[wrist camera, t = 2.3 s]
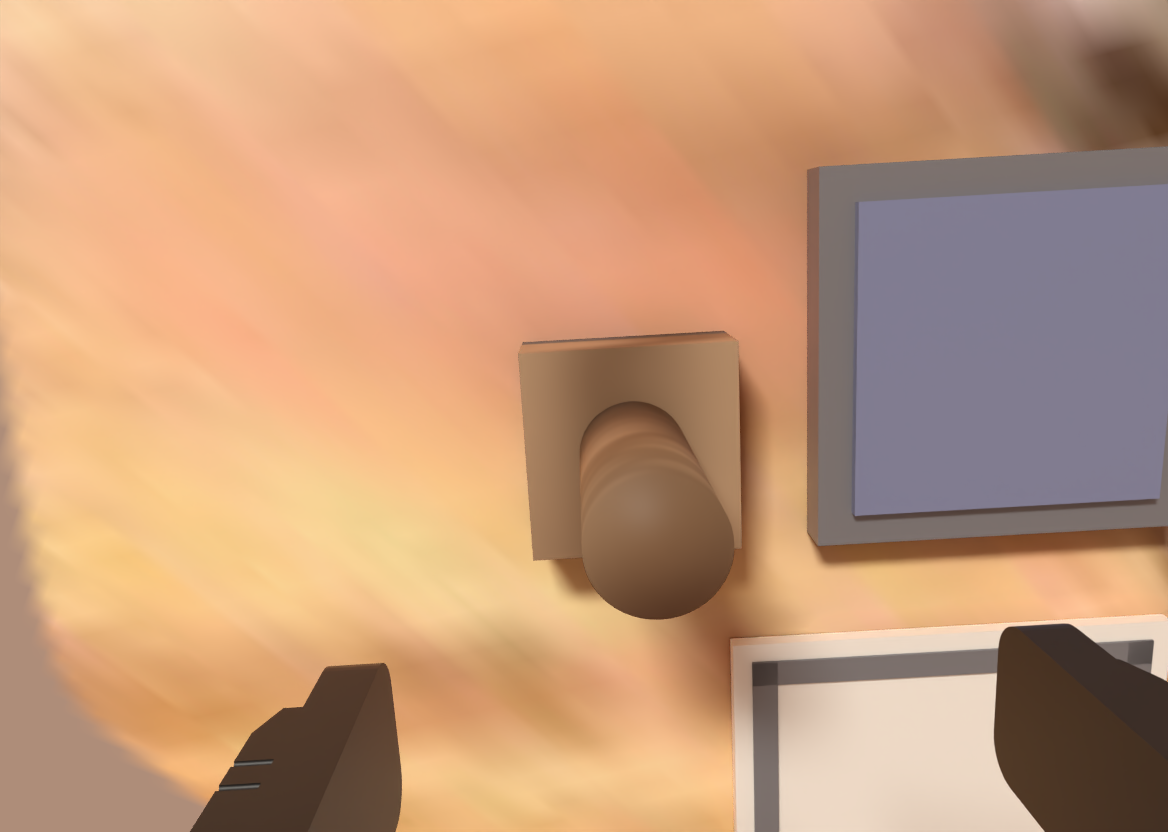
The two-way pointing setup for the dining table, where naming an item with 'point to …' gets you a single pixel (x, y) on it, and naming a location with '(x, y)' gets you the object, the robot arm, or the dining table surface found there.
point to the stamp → (636, 464)
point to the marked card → (888, 726)
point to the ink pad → (987, 346)
